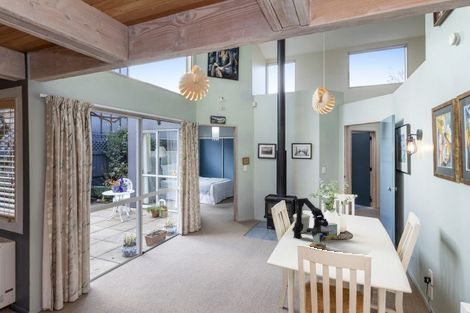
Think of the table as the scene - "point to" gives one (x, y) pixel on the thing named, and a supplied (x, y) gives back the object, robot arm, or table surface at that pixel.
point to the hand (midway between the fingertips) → (317, 241)
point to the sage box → (317, 239)
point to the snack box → (330, 231)
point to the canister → (303, 221)
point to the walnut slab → (318, 246)
